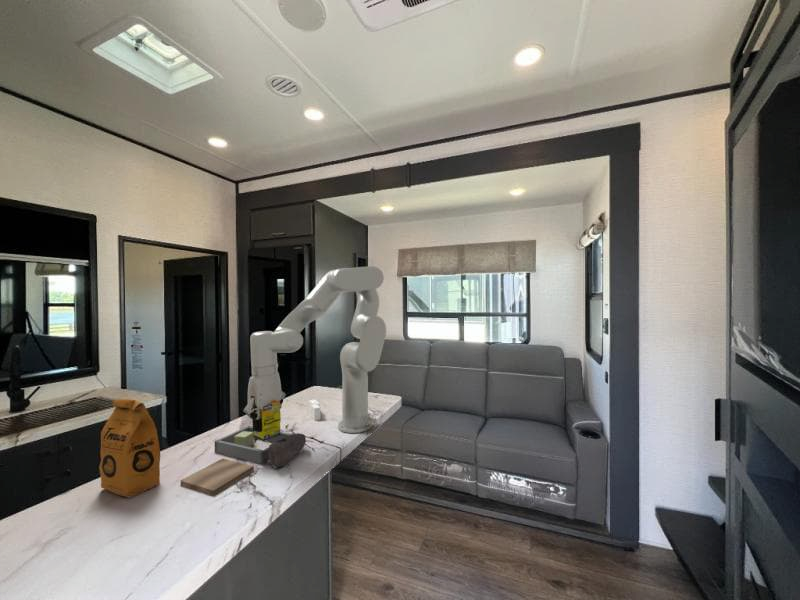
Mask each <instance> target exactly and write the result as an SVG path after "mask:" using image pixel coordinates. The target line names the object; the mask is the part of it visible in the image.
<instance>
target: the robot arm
mask: <svg viewBox="0 0 800 600" xmlns="http://www.w3.org/2000/svg"><path fill="white" fill-rule="evenodd" d="M384 278H385V276H384V273H383V271H382V270H381V269H380V268H379V267H377V266H375V265H369V266H357V267H341V268H337V269H332V270H329V271H328V272H327V273H325V274H324V276H323V277H322V278H321V279H320V280H319V282H318V283H316V285H315V286H314V288H313V289H312V290H311V291H310V293H308V294H307V296H305V298H304V300H301V302H300V303H299V304H298V305H297V306H296V307H295V308H294V309H293V310H292V311H290V313H288V315H287V316H286V317H285V318H284V319H283V320H282V321H281V323H279V325H278V326H277V328H276V329H275V330H274V331H272V330H263V331H255V332H252V334H251V335H250V338H249V341H250V342H249V344H250V363H251V376H250V377H249V380H248V386H247V404H246V406H245V407H244V408H243V412H244V413H245V414H246V415H247V416H248V417H249V418H250V419H251V420H252V426H253V431H256V432H261V431H262V419H261V418H260V416H261V410H262V408H263V406H265V405H268V404H270V403H272V402H274V401H276V400H277V401H279V404H280V410H281V409H282V408H283V407H282V404H283V402H284V400H285V396H286V395H287V394H286V393H285V392H284V391H283V390H282V384H281V377H280V373H279V371H278V368H279V363H278V355H277V354H278V353H295V352H296V351H298V350H300V349H301V348H302V346H303V344H304V337H303V335H302V334H301V332H302V331H303V330H304V328H306V327H307V326H308V325H309V324H310V323H312V322H314V321H316V320H318V319H320V318H321V317H323V316H324V315H325V314H326V313H327V312H328V310H329V309H330V308H331V307H332V306H333V304H334V303H335V302H336V300H338V298H339V296H341V294H343V293H355V294H356V298H357V302H356V308H355V311H354V313H353V314H354V315H353V318H352V321H351V325H350V333H351V335H352V336H353V337H354V338H356V339H359V342H358V341H352V342H348V343H345V345H343V347H342V348H341V350H340V355H339V361H340V368H341V373H342V374H341V375H342V378H341V379H342V383H341V384H342V385H341V386H342V388H341V389H342V420H341V421H339V422H338V425H337V427H338V429H339V430H340V432H343V433H346V434H347V433H348V434H351V433H352V434H358V433H364V432H366V431H368V430H370V429H371V428H373V427H376V426H378V421H377V420H378V419H377V418H373V417H371V413H369V396H368V395H369V377H368V376H369V375H368V373H369V372H371V371H373V370H374V369H376V367H377V366H378V364H379V362H380V359H381V355H382V351H383V348H384V344H385V340H386V337H387V327H386V322H385V320H384V319H383V318H381V317H380V316H378V312H379V307H380V296H379V293H378V291H377V289H378V288H380V287H381V286H382V285H383V283H384ZM257 410H258V412H257V414H256V411H257ZM281 418H282V417H280V422H282V421H281Z"/></svg>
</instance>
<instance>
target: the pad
mask: <svg viewBox="0 0 800 600" xmlns="http://www.w3.org/2000/svg"><path fill="white" fill-rule="evenodd" d="M254 467H255V466H253V465H251V464H246V463H241V462H239V461H234V460H230V459H226V458H221V459H219V460H217V461H215V462H213V463H211V464H209V465H208V466H205V467H203V468H202V469H200V470H198V471H195V472H194V473H192V474H190V475H188V476H186V477H185V478H182V479H181V480H180V486H183V487H185V488H189V489H192V490H195V491H198V492H200V493H203V494H207V495H211V496H213V497H214V496H215V495H217V494H219V493H220V492H222V491H224V490H225V489H226V488H228V487H229V486H232V485H233V484H234V483H236V482H238V481H239V480H241V479H242V478H244V477H246V476H247V475H249V474H251V473H252V472H254V470H255V469H254Z"/></svg>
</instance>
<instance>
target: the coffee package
mask: <svg viewBox="0 0 800 600" xmlns="http://www.w3.org/2000/svg"><path fill="white" fill-rule="evenodd" d="M112 406H113V407H115V408H114V410H112V411H113V412H112V413H111V414H110V416H109V418H108V420H107V421H106V422H105V424H104V426H103V428H102V430H101V431H100V463H99V467H98V470H99V475H100V487H101V489H104V490H107V491H109V492H111V493H114V494H116V495H118V496H121V497H126V498H129V499H130V498H132V497H134V496H135V495H138V494H141V493H143V492H144V491H146V490H150V489H151V488H154V487H156V486H157V485H160V483H161V482H160V481H161V480H160V478H161V477H160V476H161V475H160V473H161V472H160V468H161V467H160V464H161V450H160V442H159V435H158V430H157V427H156V424H155V422H154V420H153V418H152V417H151V415H150V412H149V411H148V409H147V408H146V406H145V403H143V402H140V401H138V400H137V399H128V398H127V399H126V398H120V397H118V398H116V399H115V400H113V401H112Z"/></svg>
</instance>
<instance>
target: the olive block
mask: <svg viewBox="0 0 800 600" xmlns="http://www.w3.org/2000/svg"><path fill="white" fill-rule="evenodd" d="M234 444H238V445H243V446H247V447H249V446H250V447H251V446H253V445H254V438H253V432H246V431H242V432H241V433H239V434H237V435H235V436H234ZM252 444H253V445H252Z"/></svg>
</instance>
